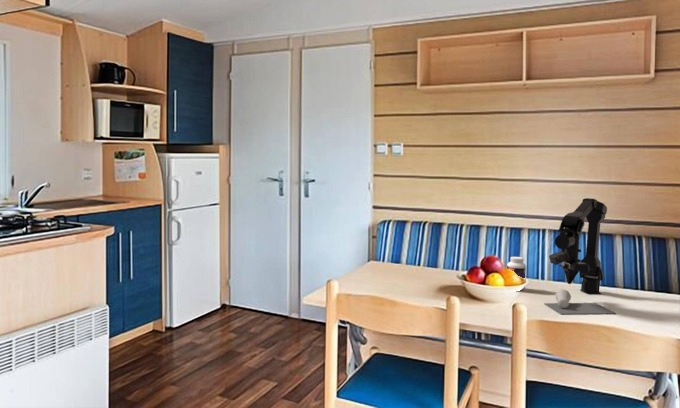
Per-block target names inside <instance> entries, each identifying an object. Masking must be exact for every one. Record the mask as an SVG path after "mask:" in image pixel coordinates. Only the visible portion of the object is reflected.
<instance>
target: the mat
mask: <svg viewBox="0 0 680 408" xmlns="http://www.w3.org/2000/svg"><path fill="white" fill-rule="evenodd" d="M543 305H545V306H546V307H548V308H549V309H552V311H555V312H556V313H557V314H559V315H562V316H563V315H616V314H617V312H615V311H613V310H611V309H609V308H608V307H605V306H603V305H602V304H599V303H597V302H569V306H568V307H567V308H565V309H563V308H560V307H559V306H558V304H557V302H556V303H555V302H550V303H549V302H547V303H546V302H544V303H543Z"/></svg>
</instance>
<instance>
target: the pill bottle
mask: <svg viewBox="0 0 680 408" xmlns="http://www.w3.org/2000/svg"><path fill="white" fill-rule="evenodd" d="M507 269H510V270H512V271H514V272H515V273H516V274H517V275H518V276H520V277H522V278H525V279H526V273H527V271H526V270H527V265H526V264H525V263H524V257H521V256H510V260H509V261H508V263H507V264H506V270H507ZM525 288H526V286H525V287H524V288H523V290H522V291H524V290H525Z"/></svg>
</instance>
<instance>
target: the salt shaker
mask: <svg viewBox="0 0 680 408" xmlns="http://www.w3.org/2000/svg"><path fill="white" fill-rule="evenodd" d="M571 298H572V296H571V293H570V292H569V290H566V289H559V290H558V291H557V292H556V293H555V299H556V303H557V304H558V306H559V307H560V308H563V309H565V308H567V307H568V306H569V303H570V301H571Z"/></svg>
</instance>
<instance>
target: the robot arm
mask: <svg viewBox="0 0 680 408" xmlns="http://www.w3.org/2000/svg"><path fill="white" fill-rule="evenodd" d="M607 212H608V207H607V206H606V205H605V203H604V202H600V201H598V200H597V199H596V198H590V197H587V198H583V199H582V202H581V203H580V204H579V205H578V206H577V207H576V209H575V210H574V211H572V212H568V213H567V214H565V215H564V216H563V217H562V218H561V219H562V220H561V222H560V225H559V228H558V232H559V234H558V235H557V236H556V237H555V239H554V245H555V247H557V248H558V249H560V251H558V252H555V253H552V254H549V255H548V258H549V262H550V264H553V265H554V266H556V265H557V266H559V267H560V268H561V269H562V270H563V271H564V274H565V279H566V282H567V284H568V285H571V284H572V283H573V282H574V280H575V278H576V276H577V275H578V274H579V278H580V279H582V281H581V288H580V292H583V293H585V294H588V295H592V294H594V295H601V294H602V292H601V291H600V285H601V284H600V282H601V281H602V282H603V281H604V271H603V269H602V265H601V264H602V263H601V261H600V259H599V257H598V254H599V242H600V232H601V229H600V228H601V223H602V222H603V221H604V220H605V219H606V214H607ZM585 219H586V221H587V222H588V225H587V236H586V237H587V238H586V248H585V256H584V257H583V258H582V259H580V258H579V255H580V253H582V249H580V238H581V234H582V231H583V229H584V226H585V224H586V223H585ZM559 264H560V265H559Z"/></svg>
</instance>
